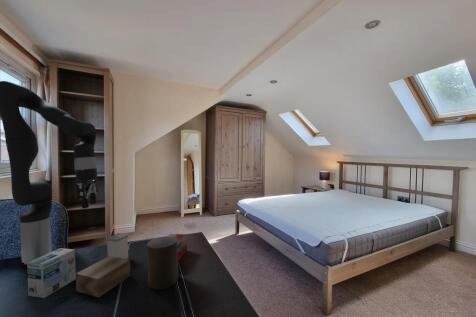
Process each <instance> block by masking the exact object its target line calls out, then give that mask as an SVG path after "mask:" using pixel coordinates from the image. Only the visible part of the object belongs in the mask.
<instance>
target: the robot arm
mask: <svg viewBox="0 0 476 317" xmlns="http://www.w3.org/2000/svg"><path fill="white" fill-rule="evenodd" d="M20 108H24V109H27V110H31V111H34V112H35V113H37V114H38V115H40V116H41V118H43V119H44V120H45V121H47V122H49V123H50V124H51V125H54V126H56V127H58V128H60V129H61V130H62V131H63V132H64V133H65V134H67V135H69V136H71V137H74V138H78V139H80V140H79V143H77V144H75V145H73V157H74V172H75V174H74V175H75V180H76V181H80V183H76V194H77V195H76V196H77V199H79V200H81V202H80V203H81V208H82V209H88V208H89V207H90V204H91V205H93V204H95V205H96V203H97V194H98V193H99V189H98V188H99V187H98V180H97V178H98V169H97V168H98V167H97V161H96V157H95V156H96V155H95V144H96V139H97V129H96V127H95V126H94V125H93V124H92V123H91V122H87V121H81V120H78V119H76V118H75V117H74V116H73V114H71V113H69V112H67V111H65V110H64V109H61V108H59V107H57V106H55V105H54V104H51V103H50V102H48V101H46V100H45V99H44V98H42V97H41V96H39V95H38V94H37V93H36V92H34V91H32V90H31V89H30V88H28V87H26V86H24V85H21V84H19V83H18V84H17V83H15V82H11V81H7V80H1V81H0V118H1V123H2V126H3V131H4V132H3V134H4V138H5V139H4V140H5V146H6V150H7V156H8V161H9V165H10V166H9V167H10V176H11V177H10V178H11V179H10V180H11V184H10V185H11V194H12V199H13V201H14V202H15V204H16V205H18V206H19V207H23V206H25V207H26V206H30V205H32V206H30V208H29V209H27V210H26V211H24V212H23V213H21V214H20V216H19V228H20V252H21V255H20V256H21V264H22V263H24V264H23V265H27V262H30V261H32V260H34V259H37V258H39V257H41V256H44V255H46V254H48V253H51V252H53V250H52V248H53V247H52V233H51V232H52V230H51V227H52V226H51V212H52V209H53V207H52V206H53V204H52V203H53V191H52V186H51V184H50V183H49V182H47V181H44V180H39V181H37V180H36V181H31V180H30V169H31V167H32V165H33V163H34V161H35V160H36V158H37V156H38V155H39V145H38V140H37V134H36V133H35V132H34V130H33V128H31V126H30V125H29V124H28V122H27V121H26V120H25V119H24V117H23V116H22V113H21V110H20ZM89 201H90V203H89Z"/></svg>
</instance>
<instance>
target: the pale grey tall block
mask: <svg viewBox="0 0 476 317" xmlns="http://www.w3.org/2000/svg"><path fill="white" fill-rule="evenodd" d="M128 235H129V234H127V233H115V234H113V235H111V236H109V237H106V243H107V257H109V256H111V257H117V258H122V259H127V260H128V259H129V241H128V237H129V236H128Z"/></svg>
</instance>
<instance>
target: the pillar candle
mask: <svg viewBox="0 0 476 317" xmlns="http://www.w3.org/2000/svg"><path fill="white" fill-rule="evenodd" d="M146 246H147V248H146V249H147V285H148V287H149V288H150V290H155V291H161V290H166V289H169V288H171V287H173V286H174V285H175V284H176V283H177V282H178V280H179V265H178V262H179V261H178V260H177V239H176V238H174V237H167V236H162V237H156V238H153V239H151V240H149V241H148V243H147V245H146Z"/></svg>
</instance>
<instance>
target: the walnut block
mask: <svg viewBox="0 0 476 317" xmlns="http://www.w3.org/2000/svg"><path fill="white" fill-rule="evenodd" d="M129 277H131V260H130V259H128V258H127V259H122V258H117V257H111V256H109V257H108V256H107V257H105V258H103V259H102V260H99V261H97V262H95V263H94V264H91V265H90V266H88V267H86V268H84V269H82V270H80V271H78V272H76V279H75V285H76V286H75V291H76V292H78V293H83V294H85V295H88V296H92V297H95V298H100V297H101V296H103V295H105V294H106V293H107V292H109V291H110V290H112V289H113V288H115V287H116V286H117V285H120V283H122V282H123V281H125V280H127V279H128V278H129Z"/></svg>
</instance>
